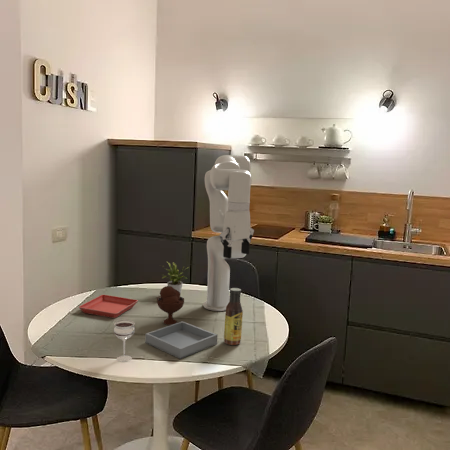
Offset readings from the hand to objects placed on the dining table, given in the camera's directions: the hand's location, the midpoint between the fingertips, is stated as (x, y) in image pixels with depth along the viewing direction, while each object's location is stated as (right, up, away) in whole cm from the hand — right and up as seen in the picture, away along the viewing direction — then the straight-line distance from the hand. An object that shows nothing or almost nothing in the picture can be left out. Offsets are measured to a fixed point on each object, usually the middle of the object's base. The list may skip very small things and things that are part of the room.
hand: (236, 255), depth 170 cm
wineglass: (-37, -33, -11) cm, 51 cm away
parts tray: (-20, -31, +3) cm, 37 cm away
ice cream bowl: (-26, -28, +22) cm, 44 cm away
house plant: (-29, -22, +57) cm, 67 cm away
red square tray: (-53, -26, +34) cm, 68 cm away
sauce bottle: (-1, -32, +5) cm, 32 cm away
